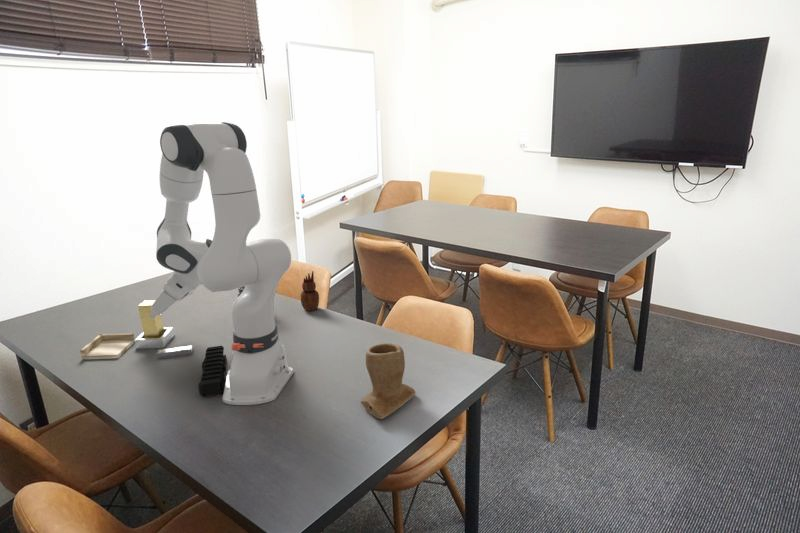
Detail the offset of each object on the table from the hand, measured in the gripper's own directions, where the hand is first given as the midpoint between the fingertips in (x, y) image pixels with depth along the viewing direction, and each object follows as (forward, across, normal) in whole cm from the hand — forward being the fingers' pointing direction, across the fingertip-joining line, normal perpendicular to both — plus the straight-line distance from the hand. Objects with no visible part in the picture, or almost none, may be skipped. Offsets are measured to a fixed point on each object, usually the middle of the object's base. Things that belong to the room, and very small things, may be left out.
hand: (158, 310), depth 158 cm
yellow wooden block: (+10, 0, +6) cm, 12 cm away
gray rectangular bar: (+3, +10, +13) cm, 17 cm away
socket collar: (+10, 0, +6) cm, 11 cm away
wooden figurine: (-24, -23, +40) cm, 52 cm away
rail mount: (-9, +25, +25) cm, 36 cm away
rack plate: (+19, +6, -3) cm, 20 cm away
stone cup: (-45, +39, +59) cm, 84 cm away
